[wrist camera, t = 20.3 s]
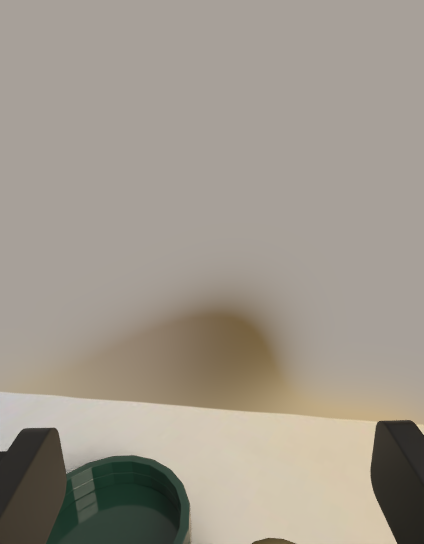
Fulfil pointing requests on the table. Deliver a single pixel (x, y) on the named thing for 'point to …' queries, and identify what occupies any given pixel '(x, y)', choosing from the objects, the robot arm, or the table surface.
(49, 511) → the robot arm
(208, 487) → the table surface
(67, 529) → the dish
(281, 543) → the cork
